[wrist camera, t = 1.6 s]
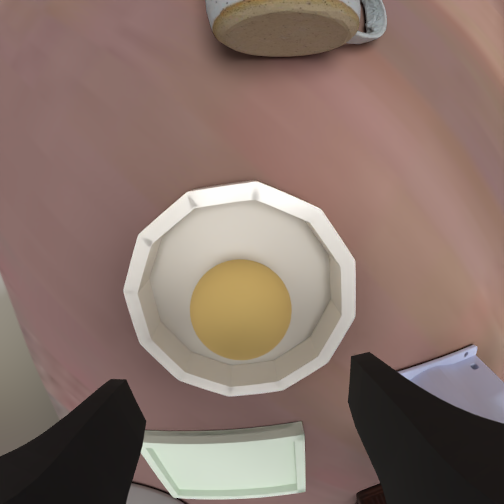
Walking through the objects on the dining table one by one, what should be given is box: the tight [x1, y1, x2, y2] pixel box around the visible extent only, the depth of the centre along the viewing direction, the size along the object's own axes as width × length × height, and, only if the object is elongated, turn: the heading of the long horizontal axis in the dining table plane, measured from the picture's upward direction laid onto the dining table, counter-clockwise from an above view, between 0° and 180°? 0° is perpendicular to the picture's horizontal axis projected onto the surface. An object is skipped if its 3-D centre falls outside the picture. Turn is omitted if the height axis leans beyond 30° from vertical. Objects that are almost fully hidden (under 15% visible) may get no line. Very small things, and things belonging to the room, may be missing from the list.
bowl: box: [123, 180, 356, 397], centre depth 16 cm, size 12×12×3 cm
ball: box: [190, 259, 292, 360], centre depth 14 cm, size 5×5×5 cm
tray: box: [141, 421, 305, 499], centre depth 22 cm, size 14×11×2 cm
